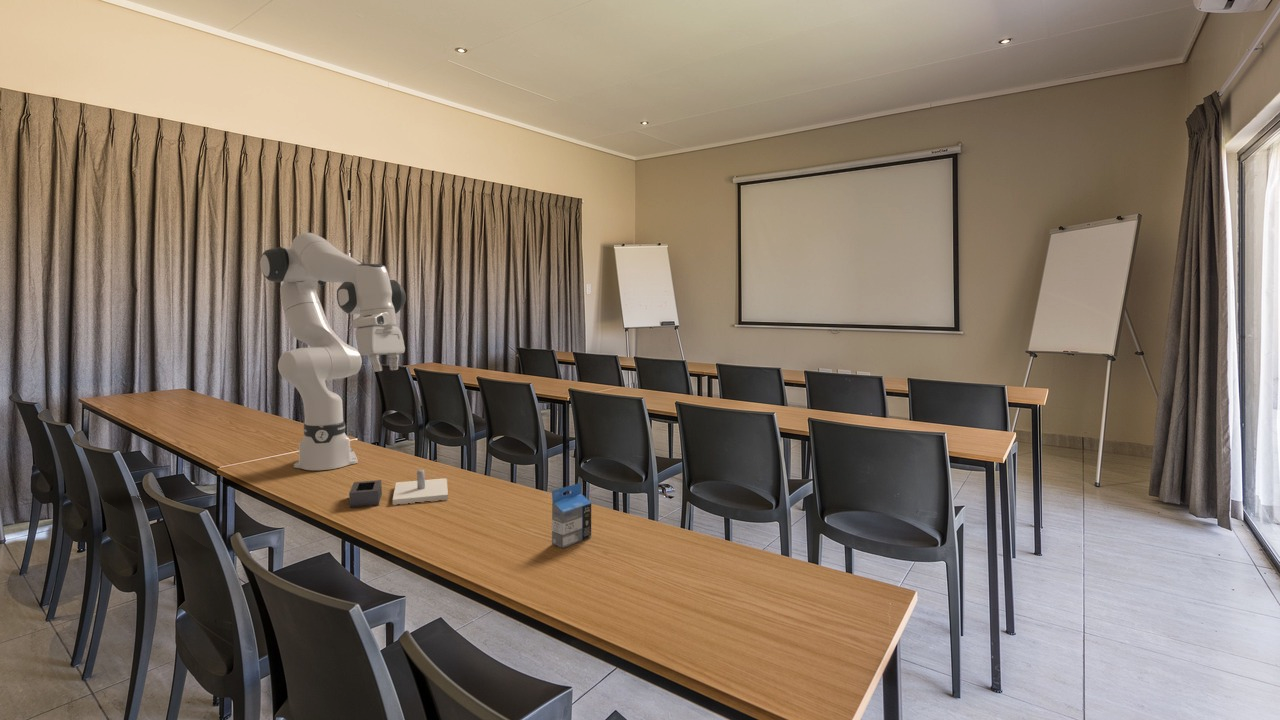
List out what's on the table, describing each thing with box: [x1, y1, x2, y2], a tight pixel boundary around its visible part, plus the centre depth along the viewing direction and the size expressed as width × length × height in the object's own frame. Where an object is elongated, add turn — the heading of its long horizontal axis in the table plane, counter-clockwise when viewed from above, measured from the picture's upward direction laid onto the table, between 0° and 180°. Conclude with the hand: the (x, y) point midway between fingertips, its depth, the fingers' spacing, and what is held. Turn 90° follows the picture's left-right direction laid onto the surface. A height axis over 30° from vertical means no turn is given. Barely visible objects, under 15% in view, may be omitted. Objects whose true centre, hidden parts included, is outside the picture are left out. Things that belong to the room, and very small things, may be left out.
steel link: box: [348, 479, 383, 509], centre depth 163 cm, size 10×7×4 cm
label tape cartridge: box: [551, 482, 592, 549], centre depth 137 cm, size 9×4×12 cm, turn 138°
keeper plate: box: [392, 469, 449, 506], centre depth 170 cm, size 16×14×6 cm
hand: (386, 370), depth 167 cm, fingers open, 8 cm apart
